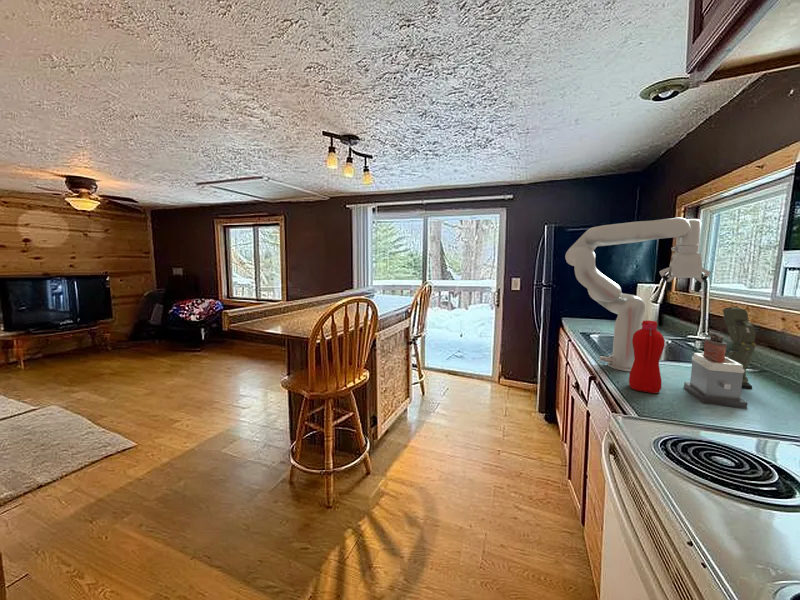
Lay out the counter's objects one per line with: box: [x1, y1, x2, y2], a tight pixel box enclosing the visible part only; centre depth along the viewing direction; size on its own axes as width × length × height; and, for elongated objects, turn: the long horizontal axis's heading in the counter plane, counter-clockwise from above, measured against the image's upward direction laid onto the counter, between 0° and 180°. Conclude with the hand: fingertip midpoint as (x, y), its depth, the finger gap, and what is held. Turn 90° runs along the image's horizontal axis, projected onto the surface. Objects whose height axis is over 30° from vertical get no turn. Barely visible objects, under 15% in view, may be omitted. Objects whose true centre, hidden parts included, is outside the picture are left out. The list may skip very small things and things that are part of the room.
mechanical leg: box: [722, 306, 757, 390], centre depth 134 cm, size 14×7×30 cm, turn 168°
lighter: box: [703, 331, 728, 363], centre depth 120 cm, size 8×3×10 cm, turn 172°
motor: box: [683, 352, 749, 409], centre depth 121 cm, size 11×16×14 cm
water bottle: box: [628, 320, 665, 394], centre depth 127 cm, size 9×11×25 cm
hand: (682, 291), depth 149 cm, fingers open, 9 cm apart
